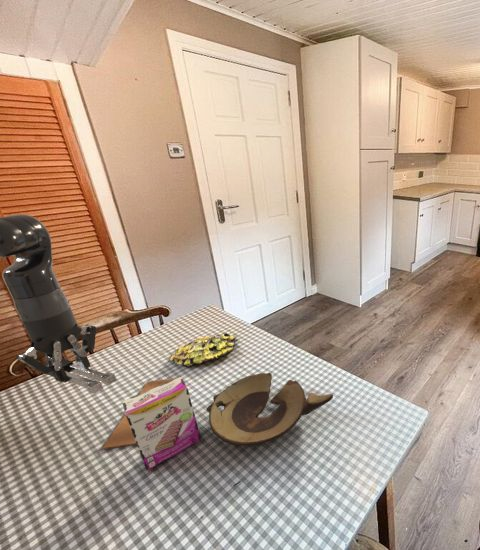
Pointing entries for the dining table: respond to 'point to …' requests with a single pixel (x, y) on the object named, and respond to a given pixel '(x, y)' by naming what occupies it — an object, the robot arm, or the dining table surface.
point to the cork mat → (123, 430)
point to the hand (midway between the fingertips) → (74, 375)
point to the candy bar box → (162, 422)
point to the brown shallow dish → (259, 410)
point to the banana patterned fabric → (204, 349)
